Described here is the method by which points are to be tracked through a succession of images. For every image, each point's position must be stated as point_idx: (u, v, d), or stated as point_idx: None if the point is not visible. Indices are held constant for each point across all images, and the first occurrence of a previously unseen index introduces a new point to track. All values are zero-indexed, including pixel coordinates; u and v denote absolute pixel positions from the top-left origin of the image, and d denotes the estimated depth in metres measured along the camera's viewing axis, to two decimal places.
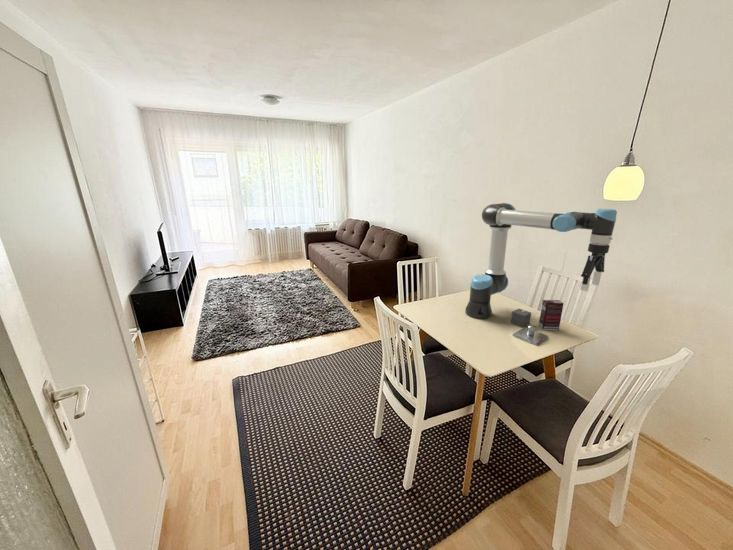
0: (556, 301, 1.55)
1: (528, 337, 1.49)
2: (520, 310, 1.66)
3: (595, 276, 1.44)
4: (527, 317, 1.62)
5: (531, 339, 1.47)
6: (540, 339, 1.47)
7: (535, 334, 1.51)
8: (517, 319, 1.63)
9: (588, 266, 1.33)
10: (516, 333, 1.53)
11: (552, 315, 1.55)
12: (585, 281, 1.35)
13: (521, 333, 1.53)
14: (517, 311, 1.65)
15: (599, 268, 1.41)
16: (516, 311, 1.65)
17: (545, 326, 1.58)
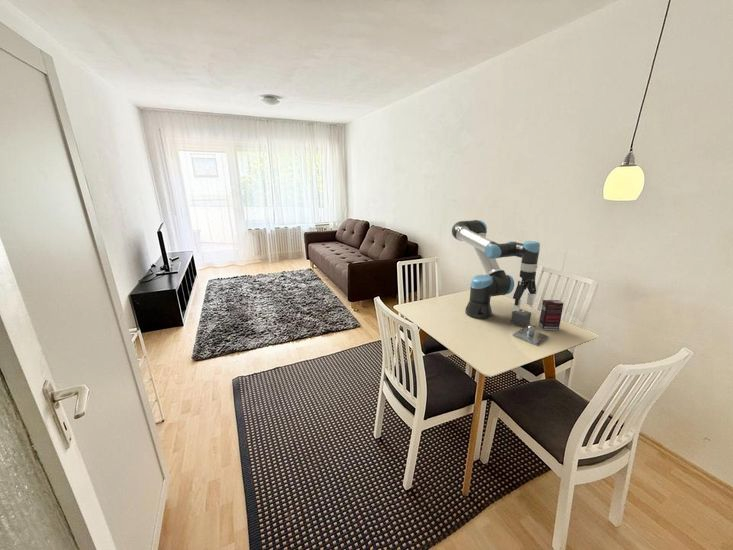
0: (556, 301, 1.55)
1: (528, 337, 1.49)
2: (520, 310, 1.66)
3: (529, 297, 1.66)
4: (527, 317, 1.62)
5: (531, 339, 1.47)
6: (540, 339, 1.47)
7: (535, 334, 1.51)
8: (517, 319, 1.63)
9: (518, 290, 1.55)
10: (516, 333, 1.53)
11: (552, 315, 1.55)
12: (516, 303, 1.57)
13: (521, 333, 1.53)
14: (517, 311, 1.65)
15: (531, 290, 1.63)
16: (516, 311, 1.65)
17: (545, 326, 1.58)
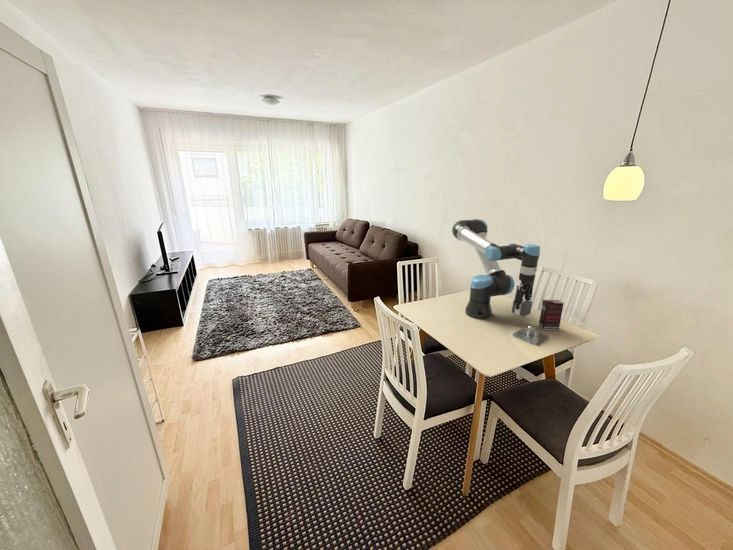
0: (556, 301, 1.55)
1: (528, 337, 1.49)
2: None
3: None
4: (528, 307, 1.60)
5: (531, 339, 1.47)
6: (540, 339, 1.47)
7: (535, 334, 1.51)
8: None
9: (518, 295, 1.57)
10: (516, 333, 1.53)
11: (552, 315, 1.55)
12: (517, 307, 1.60)
13: (521, 333, 1.53)
14: None
15: (527, 296, 1.63)
16: None
17: (545, 326, 1.58)
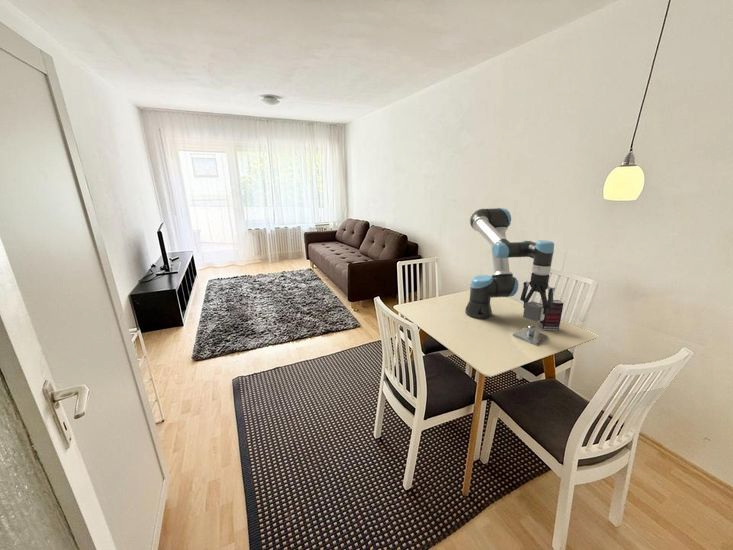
0: (556, 301, 1.55)
1: (528, 337, 1.49)
2: (540, 304, 1.46)
3: None
4: (530, 309, 1.45)
5: (531, 339, 1.47)
6: (540, 339, 1.47)
7: (535, 334, 1.51)
8: None
9: None
10: (516, 333, 1.53)
11: (552, 315, 1.55)
12: None
13: (521, 333, 1.53)
14: (535, 303, 1.48)
15: None
16: (534, 302, 1.48)
17: (545, 326, 1.58)
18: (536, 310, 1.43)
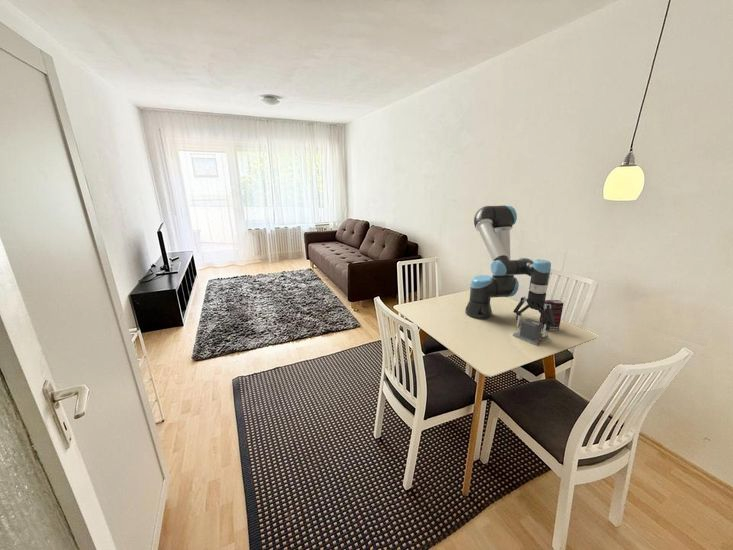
0: (556, 301, 1.55)
1: None
2: (536, 322, 1.49)
3: None
4: (526, 327, 1.48)
5: (531, 339, 1.47)
6: (540, 339, 1.47)
7: None
8: None
9: None
10: (516, 333, 1.53)
11: None
12: None
13: None
14: (531, 320, 1.51)
15: None
16: (530, 320, 1.52)
17: None
18: (532, 328, 1.46)
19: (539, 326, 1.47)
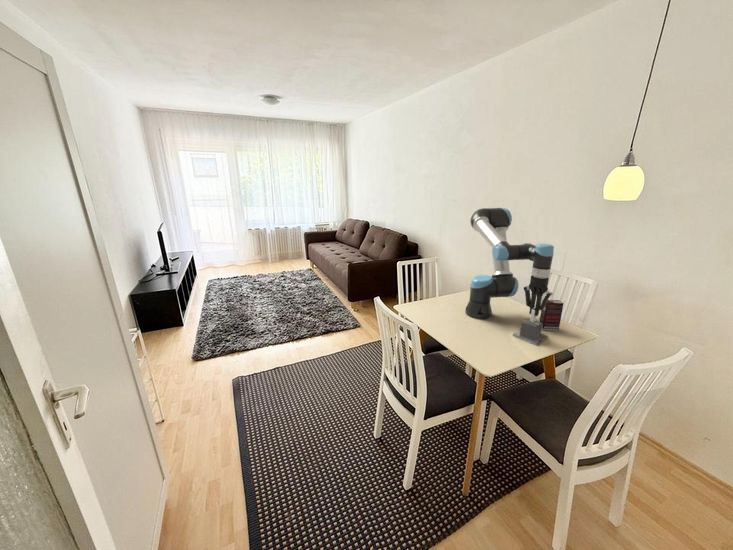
0: (556, 301, 1.55)
1: None
2: (536, 322, 1.49)
3: None
4: (526, 327, 1.48)
5: (531, 339, 1.47)
6: (540, 339, 1.47)
7: None
8: None
9: None
10: (516, 333, 1.53)
11: (552, 315, 1.55)
12: None
13: None
14: None
15: None
16: None
17: (545, 326, 1.58)
18: (532, 328, 1.46)
19: (539, 326, 1.47)
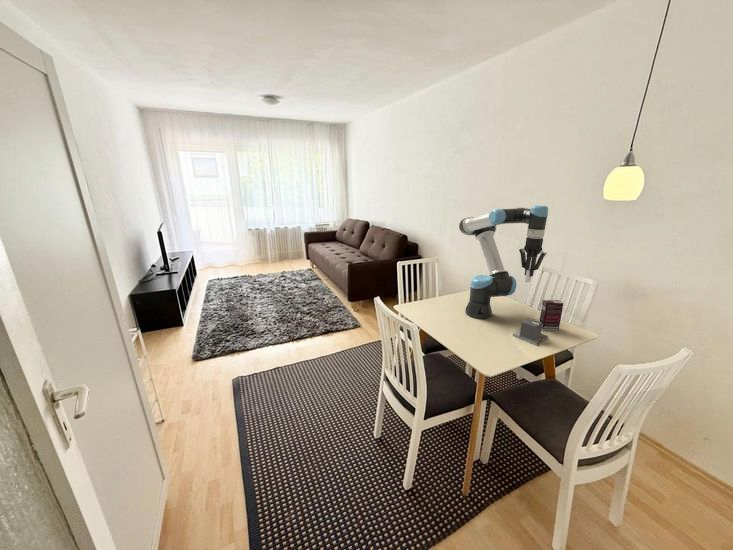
0: (556, 301, 1.55)
1: None
2: (536, 322, 1.49)
3: None
4: (526, 327, 1.48)
5: (531, 339, 1.47)
6: (540, 339, 1.47)
7: None
8: None
9: None
10: (516, 333, 1.53)
11: (552, 315, 1.55)
12: None
13: None
14: (531, 320, 1.51)
15: None
16: (530, 320, 1.52)
17: (545, 326, 1.58)
18: (532, 328, 1.46)
19: (539, 326, 1.47)
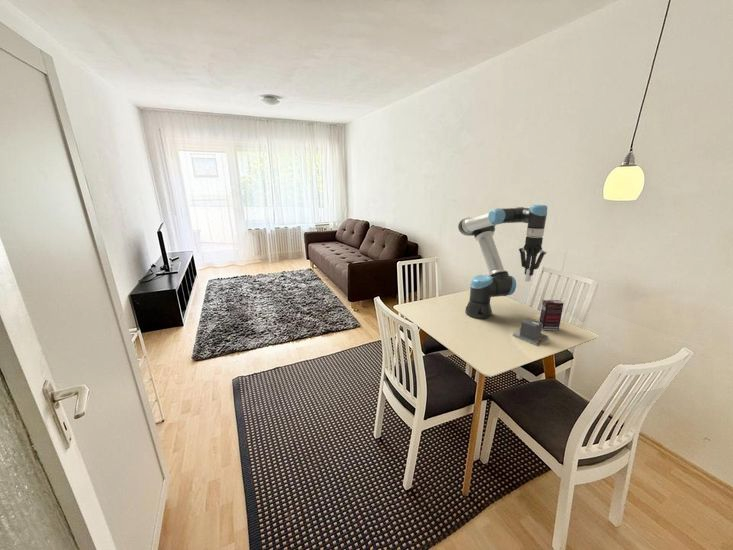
0: (556, 301, 1.55)
1: None
2: (536, 322, 1.49)
3: None
4: (526, 327, 1.48)
5: (531, 339, 1.47)
6: (540, 339, 1.47)
7: None
8: None
9: None
10: (516, 333, 1.53)
11: (552, 315, 1.55)
12: None
13: None
14: (531, 320, 1.51)
15: None
16: (530, 320, 1.52)
17: (545, 326, 1.58)
18: (532, 328, 1.46)
19: (539, 326, 1.47)
